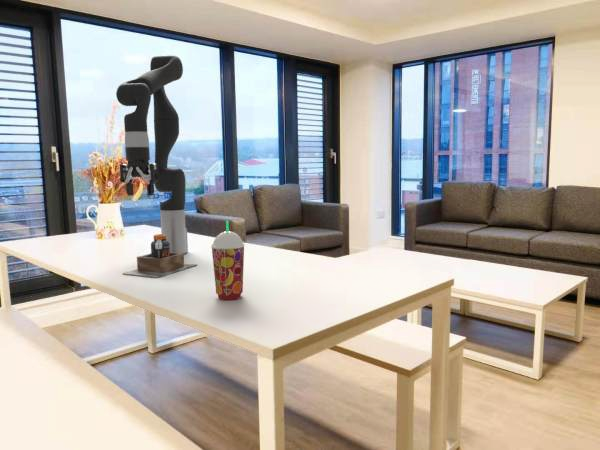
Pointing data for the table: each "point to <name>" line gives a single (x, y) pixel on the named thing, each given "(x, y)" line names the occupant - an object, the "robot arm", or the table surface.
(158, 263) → the well
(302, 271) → the table surface
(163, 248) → the pill bottle
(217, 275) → the smoothie
